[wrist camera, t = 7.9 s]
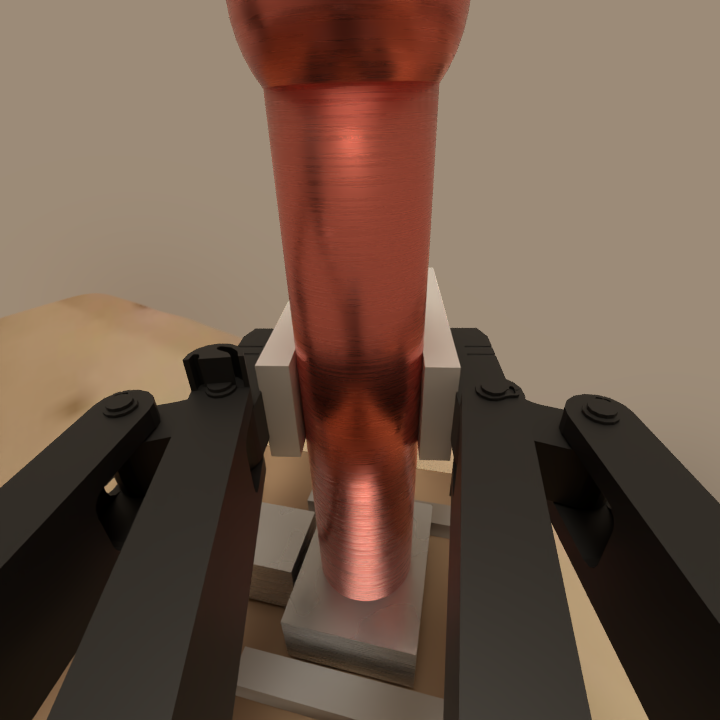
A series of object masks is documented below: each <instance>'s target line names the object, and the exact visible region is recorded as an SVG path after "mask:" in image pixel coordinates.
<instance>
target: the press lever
mask: <svg viewBox="0 0 720 720" xmlns="http://www.w3.org/2000/svg"><path fill="white" fill-rule="evenodd" d="M226 3H227V7H228V13H229V18H230V21H231V25H232V28H233V31H234V34H235V38H236V40H237V43H238V45H239V48H240V50H241V52H242V54H243V57H244V59H245V60H246V62H247V64H248V66H249V68H250V70H251V72H252V73H253V75H254V76H255V78H256V79H257V80H258V82H259V83H260V85H261V86H262V88H263V89H264V98H265V106H266V114H267V121H268V130H269V138H270V145H271V155H272V163H273V171H274V179H275V187H276V196H277V204H278V211H279V220H280V228H281V236H282V244H283V252H284V261H285V269H286V277H287V285H288V293H289V302H290V310H291V318H292V326H293V334H294V342H295V351H296V359H297V367H298V375H299V383H300V391H301V400H302V408H303V416H304V424H305V432H306V440H307V448H308V457H309V465H310V473H311V481H312V489H313V497H314V506H315V512H313V511H307V510H302V509H297V508H291V507H286V506H280V505H275V504H269V503H264V502H262V505H261V512H260V519H259V527H258V534H257V541H256V549H255V556H254V563H253V571H252V578H251V585H250V593H249V598H251V599H255V600H259V601H264V602H268V603H272V604H276V605H280V606H284V607H286V609H285V612H284V614H283V617H282V619H281V626H282V630H283V634H284V638H285V643H286V647H287V651H288V655H290V656H294V657H297V658H301V659H305V660H309V661H313V662H316V663H320V664H324V665H328V666H332V667H335V668H339V669H343V670H347V671H350V672H354V673H358V674H362V675H366V676H369V677H373V678H377V679H381V680H384V681H388V682H392V683H396V684H400V685H403V686H407V687H411V688H413V687H414V678H415V668H416V659H417V650H418V641H419V631H420V622H421V613H422V603H423V594H424V585H425V576H426V566H427V557H428V548H429V539H430V528H431V517H432V506H433V505H431V504H425V503H419V502H414V498H415V482H416V465H417V448H418V427H419V410H420V394H421V377H422V360H423V347H424V331H425V314H426V297H427V280H428V263H429V262H428V261H429V246H430V230H431V213H432V196H433V178H434V162H435V146H436V129H437V111H438V95H439V83H440V81H441V80H442V78H443V77H444V75H445V73H446V72H447V70H448V68H449V67H450V64H451V62H452V60H453V58H454V56H455V54H456V52H457V49H458V46H459V43H460V41H461V38H462V35H463V32H464V28H465V24H466V19H467V16H468V11H469V5H470V0H226ZM315 514H316V516H315ZM316 522H317V524H316Z"/></svg>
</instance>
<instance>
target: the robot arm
mask: <svg viewBox="0 0 720 720" xmlns="http://www.w3.org/2000/svg"><path fill="white" fill-rule="evenodd" d="M183 363H184V367H185V370H186V374H187V377H188V381H189V384H190V388H191V393H190V395H189V398H188V399H187V400H183V401H179V402H173V403H168V404H162V405H156V402H155V400H154V397H153V395H151V394H150V393H149V392H147V391H142V390H127V391H123V392H118V393H115V394H113V395H111V396H109V397H106V398H104V399H103V400H101V401H100V402H98V403H97V404H95V405H94V406H93V407H92V408H91V409H89V410H88V411H87V412H86V413H85V414H84V415H83V416H81V417H80V418H79V419H78V420H77V421H76V422H75V423H74V424H72V425H71V426H70V427H69V428H68V429H67V430H66V431H64V432H63V433H62V434H61V435H60V436H59V437H58V438H56V439H55V440H54V441H53V442H52V443H51V444H50V445H49V446H47V447H46V448H45V449H44V450H43V451H42V452H41V453H39V454H38V455H37V456H36V457H35V458H34V459H33V460H32V461H30V462H29V463H28V464H27V465H26V466H25V467H24V468H22V469H21V470H20V471H19V472H18V473H17V474H16V475H14V476H13V477H12V478H11V479H10V480H9V481H8V482H7V483H5V484H4V485H3V486H2V487H1V488H0V720H32V719H33V718H34V716H35V715H36V713H37V712H38V710H39V709H40V707H41V706H42V704H43V703H44V701H45V700H46V698H47V696H48V695H49V693H50V692H51V690H52V689H53V687H54V686H55V684H56V683H57V681H58V680H59V678H60V677H61V675H62V673H63V672H64V670H65V669H66V667H67V666H68V664H69V663H70V661H71V660H72V658H73V657H74V658H73V661H72V663H71V665H70V667H69V670H68V672H67V674H66V676H65V679H64V681H63V683H62V686H61V688H60V690H59V692H58V695H57V697H56V699H55V701H54V704H53V706H52V708H51V710H50V713H49V715H48V717H47V720H232V718H233V710H234V703H235V696H236V688H237V681H238V674H239V666H240V659H241V652H242V644H243V637H244V630H245V622H246V615H247V608H248V600H249V593H250V585H251V578H252V571H253V563H254V556H255V549H256V541H257V534H258V527H259V519H260V512H261V505H262V497H263V490H264V483H265V475H266V464H265V458H264V452H265V449H266V446H267V444H268V441H269V445H270V451H271V456H277V457H301V454H302V450H303V447H304V443H305V439H306V432H305V424H304V416H303V408H302V400H301V391H300V383H299V375H298V367H297V359H296V351H295V342H294V334H293V326H292V318H291V310H290V302H289V301H288V303H287V305H286V307H285V309H284V311H283V313H282V315H281V317H280V319H279V321H278V322H277V324H276V326H275V328H274V329H254V330H253V331H252V332H250V333H249V334H247V335H246V336H244V337H243V339H242V341H241V342H240V344H239V345H238V346H236V345H232V344H214V345H207V346H204V347H201V348H198V349H196V350H194V351H193V352H191V353H189V354H188V355H187V356H186V357H185V358H184V359H183ZM451 448H452V450H453V456H454V460H453V469H452V477H451V485H450V493H449V496H451V512H450V540H449V569H448V597H447V625H446V653H445V681H444V710H443V720H592V719H591V714H590V709H589V704H588V699H587V694H586V690H585V685H584V680H583V675H582V670H581V665H580V661H579V656H578V651H577V646H576V641H575V636H574V632H573V627H572V622H571V617H570V612H569V607H568V603H567V598H566V593H565V588H564V583H563V578H562V574H561V569H560V564H559V559H558V554H557V549H556V544H555V540H554V535H553V530H552V525H553V527H554V529H555V531H556V533H557V535H558V537H559V539H560V541H561V543H562V545H563V547H564V549H565V551H566V553H567V555H568V557H569V559H570V561H571V563H572V565H573V567H574V569H575V571H576V573H577V575H578V577H579V579H580V581H581V583H582V585H583V587H584V589H585V591H586V594H587V596H588V598H589V600H590V602H591V604H592V606H593V608H594V610H595V612H596V614H597V616H598V618H599V620H600V622H601V624H602V626H603V628H604V630H605V632H606V634H607V636H608V638H609V640H610V642H611V644H612V646H613V648H614V650H615V652H616V654H617V656H618V658H619V660H620V662H621V664H622V666H623V668H624V670H625V672H626V674H627V676H628V678H629V680H630V682H631V684H632V686H633V688H634V690H635V692H636V694H637V696H638V698H639V700H640V702H641V704H642V706H643V708H644V710H645V712H646V714H647V717H648V719H649V720H720V504H719V502H717V500H716V499H715V498H714V497H713V496H712V495H711V494H710V493H709V492H708V491H707V490H706V489H705V488H704V487H703V486H702V485H701V484H700V482H699V481H698V480H697V479H696V478H695V477H694V476H693V475H692V474H691V473H690V472H689V471H688V470H687V469H686V468H685V467H684V466H683V464H681V462H680V461H679V460H678V459H677V458H676V457H675V456H674V455H673V454H672V453H671V452H670V451H669V450H668V449H667V448H666V447H665V445H664V444H663V443H662V442H661V441H660V440H659V439H658V438H657V437H656V436H655V435H654V434H653V433H652V432H651V431H650V430H649V429H648V428H647V427H646V426H645V424H644V423H643V422H642V421H641V420H640V419H639V418H638V417H637V416H636V415H635V414H634V413H633V412H632V411H631V410H630V409H628V408H627V407H626V406H624V405H623V404H621V403H619V402H617V401H615V400H613V399H610V398H607V397H603V396H599V395H589V394H582V395H576V396H573V397H571V398H570V399H568V400H567V401H566V404H565V407H564V410H563V409H558V408H553V407H548V406H544V405H539V404H536V403H533V402H530V401H528V400H526V399H525V395H524V393H523V391H522V389H521V388H520V387H519V386H517V385H516V384H515V383H513V382H511V381H509V380H507V379H506V378H505V376H504V374H503V371H502V369H501V367H500V365H499V362H498V360H497V357H496V356H495V353H494V351H493V349H492V348H491V344H490V341H489V339H488V337H487V336H486V335H485V334H483V333H482V332H481V331H480V330H478V329H477V328H450V327H449V323H448V319H447V316H446V312H445V309H444V305H443V302H442V298H441V294H440V290H439V287H438V283H437V279H436V276H435V272H434V269H433V268H428V280H427V297H426V314H425V331H424V347H423V360H422V377H421V394H420V410H419V427H418V450H419V460H448V461H450V456H451ZM113 476H114V478H115V480H116V482H117V485H116V486H115V488H114V489H113V490H112V491H110V492H109V493H107V492H106V490H105V488H104V486H105V485H106V484H107V483H108V482H109V481H110V479H111V478H112V477H113ZM551 523H552V525H551ZM74 655H75V656H74Z"/></svg>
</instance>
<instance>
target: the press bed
mask: <svg viewBox="0 0 720 720" xmlns="http://www.w3.org/2000/svg"><path fill="white" fill-rule="evenodd" d="M264 458H265V464H266V475H265V483H264V490H263V497H262V502H264V503H269V504H275V505H280V506H286V507H291V508H297V509H302V510H307V511H313V512H315V506H314V497H313V489H312V481H311V473H310V465H309V457H308V452H305V451H302V454H301V457H277V456H271V451H270V446H266V449H265V452H264ZM451 477H452V474H450V473H443V472H437V471H430V470H424V469H417V468H416V482H415V498H414V502H419V503H425V504H431V505H433V506H432V517H431V528H430V539H429V548H428V557H427V566H426V576H425V585H424V594H423V603H422V613H421V622H420V631H419V641H418V650H417V659H416V668H415V678H414V687H413V688H411V687H407V686H403V685H400V684H396V683H392V682H388V681H384V680H381V679H377V678H373V677H369V676H366V675H362V674H358V673H354V672H350V671H347V670H343V669H339V668H335V667H332V666H328V665H324V664H320V663H316V662H313V661H309V660H305V659H301V658H297V657H294V656H290V655H288V651H287V647H286V643H285V638H284V634H283V630H282V626H281V619H282V617H283V614H284V612H285V609H286V607H284V606H280V605H276V604H272V603H268V602H264V601H259V600H255V599H251V598H249V600H248V608H247V615H246V622H245V630H244V637H243V644H242V652H241V659H240V666H239V674H238V681H237V688H236V696H235V703H234V710H233V718H232V720H443V710H444V681H445V653H446V625H447V597H448V569H449V540H450V512H451V496H449V493H450V485H451ZM113 478H114V476H113V477H112V478H111V479H110V481H111V480H112V479H113ZM110 481H109V482H110ZM109 482H108V483H109ZM108 483H107V484H108ZM107 484H106V485H107ZM106 485H105V486H106ZM105 486H104V487H105ZM315 516H316V514H315ZM316 524H317V522H316ZM74 656H75V655H74ZM73 658H74V657H73ZM73 658H72V660H71V661H70V663H69V664H68V666H67V667H66V669H65V670H64V672H63V673H62V675H61V677H60V678H59V680H58V681H57V683H56V684H55V686H54V687H53V689H52V690H51V692H50V693H49V695H48V696H47V698H46V700H45V701H44V703H43V704H42V706H41V707H40V709H39V710H38V712H37V713H36V715H35V716H34V718H33V719H32V720H47V717H48V715H49V713H50V710H51V708H52V706H53V704H54V701H55V699H56V697H57V695H58V692H59V690H60V688H61V686H62V683H63V681H64V679H65V676H66V674H67V672H68V670H69V667H70V665H71V663H72V661H73Z"/></svg>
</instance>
